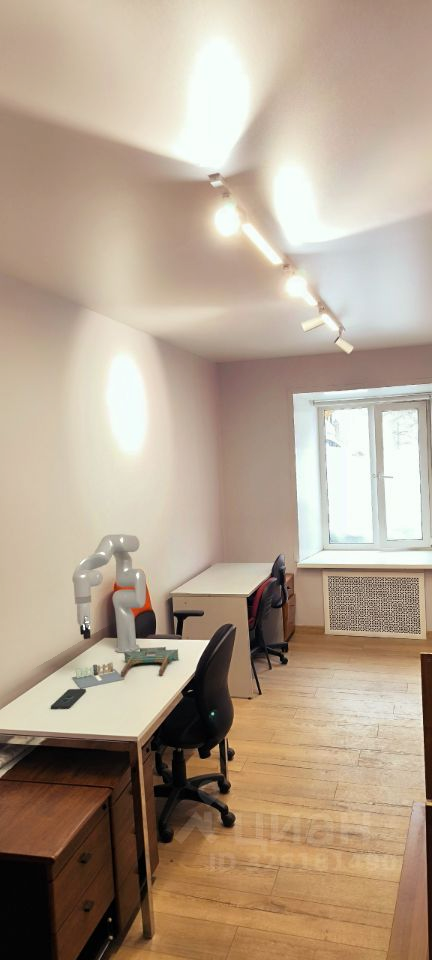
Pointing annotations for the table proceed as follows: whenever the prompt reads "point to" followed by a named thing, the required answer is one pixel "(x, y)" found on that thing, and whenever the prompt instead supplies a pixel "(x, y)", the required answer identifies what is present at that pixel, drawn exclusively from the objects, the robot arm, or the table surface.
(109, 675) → the card
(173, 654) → the miniature gate
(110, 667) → the fixed fence section
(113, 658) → the table surface
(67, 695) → the smart home device
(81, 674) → the folding fence panel
